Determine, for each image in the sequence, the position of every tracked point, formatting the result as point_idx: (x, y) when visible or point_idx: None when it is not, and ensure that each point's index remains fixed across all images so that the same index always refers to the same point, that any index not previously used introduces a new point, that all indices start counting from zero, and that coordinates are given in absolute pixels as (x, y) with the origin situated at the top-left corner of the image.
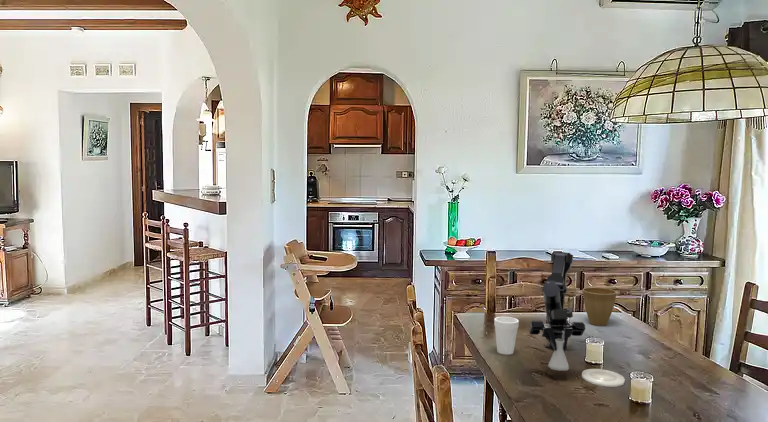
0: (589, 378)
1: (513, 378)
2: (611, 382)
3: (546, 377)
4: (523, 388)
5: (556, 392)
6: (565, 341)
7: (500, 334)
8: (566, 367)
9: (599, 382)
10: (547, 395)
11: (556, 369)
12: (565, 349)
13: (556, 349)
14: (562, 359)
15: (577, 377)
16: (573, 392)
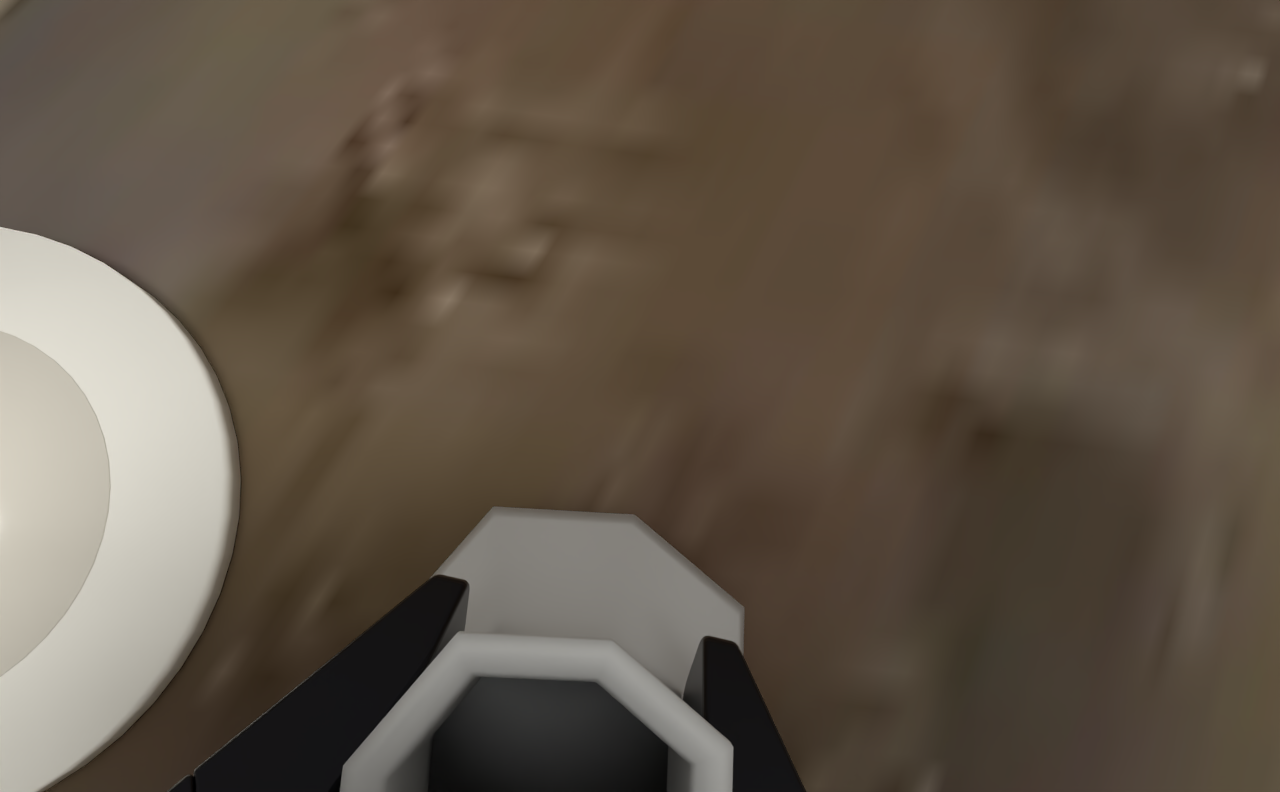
0: (183, 450)
1: (1234, 698)
2: None
3: None
4: (1185, 357)
5: (828, 196)
6: (305, 752)
7: None
8: (499, 519)
9: (137, 297)
10: (966, 138)
11: (674, 549)
12: (444, 575)
13: (703, 639)
14: (553, 561)
15: (284, 620)
16: (624, 167)
